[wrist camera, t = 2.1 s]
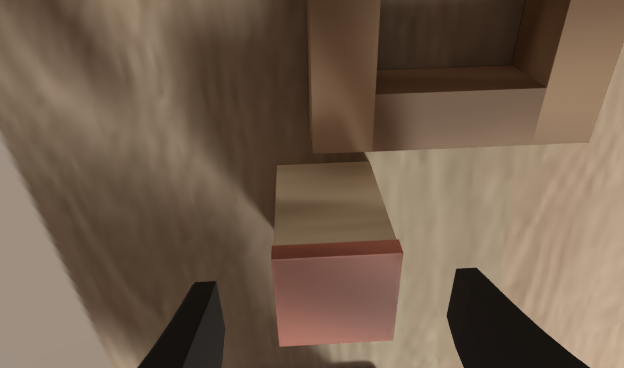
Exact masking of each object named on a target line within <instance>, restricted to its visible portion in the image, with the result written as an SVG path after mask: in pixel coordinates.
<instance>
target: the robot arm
mask: <svg viewBox="0 0 624 368" xmlns="http://www.w3.org/2000/svg"><path fill="white" fill-rule="evenodd" d="M447 319H448V323H449V326H450V330H451V334H452V337H453V340H454V344H455V347H456V350H457V352H458V355H459V357H460V359H461V362H462V364H463V367H464V368H590V367H588V366H587V365H586V364H584V363H583V362H582V361H580V360H579V359H578V358H576V357H575V356H574V355H572V354H571V353H570V352H568V351H567V350H566V349H565V348H564V347H562V346H561V345H560V344H559V343H558V342H556V341H555V340H554V339H553V338H551V337H550V336H549V335H548V334H547V333H545V332H544V331H543V330H542V329H541V328H540V327H539V326H537V325H536V324H535V323H534V322H533V321H532V320H531V319H530V318H529V317H528V316H526V315H525V314H524V313H523V312H522V311H521V310H520V309H519V308H518V307H517V306H516V305H515V304H513V303H512V302H511V301H510V300H509V299H508V298H507V297H506V296H505V295H504V294H503V293H502V292H501V291H500V290H499V289H498V288H497V287H496V286H495V285H494V284H493V283H492V282H491V281H490V280H489V279H488V278H487V277H486V276H485V275H483V274H482V273H481V272H480V271H479V270H478V269H477V268H461V269H456V273H455V278H454V283H453V288H452V292H451V297H450V302H449V307H448V312H447ZM224 334H225V326H224V320H223V315H222V310H221V305H220V299H219V294H218V289H217V283H216V281H210V282H195V283H194V284H193V285H192V287H191V288H190V290H189V292H188V294H187V295H186V297H185V299H184V300H183V302H182V304H181V305H180V307H179V309H178V310H177V312H176V313H175V315H174V317H173V318H172V320H171V321H170V323H169V324H168V326H167V327H166V329H165V330H164V332H163V333H162V335H161V336H160V338H159V339H158V341H157V342H156V343H155V345H154V346H153V348H152V349H151V350H150V352H149V353H148V354H147V356H146V357H145V358H144V360H143V361H142V362H141V364H140V365H139V366H138V368H221V364H222V357H223V346H224Z"/></svg>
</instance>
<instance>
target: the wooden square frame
mask: <svg viewBox="0 0 624 368" xmlns="http://www.w3.org/2000/svg"><path fill="white" fill-rule="evenodd" d="M380 5H381V0H306V15H307V52H308V89H309V124H310V133H311V142H312V151H313V154H327V153H351V152H374V151H397V150H421V149H444V148H467V147H490V146H514V145H537V144H560V143H584V142H589V140H590V137H591V135H592V132H593V129H594V126H595V123H596V120H597V117H598V115H599V112H600V109H601V106H602V103H603V100H604V97H605V94H606V92H607V89H608V86H609V83H610V80H611V77H612V74H613V71H614V69H615V66H616V63H617V60H618V57H619V54H620V51H621V48H622V46H623V43H624V0H526V2H525V6H524V11H523V15H522V20H521V24H520V29H519V33H518V38H517V42H516V47H515V51H514V56H513V61H512V65H501V66H474V67H447V68H420V69H393V70H377V57H378V40H379V22H380Z"/></svg>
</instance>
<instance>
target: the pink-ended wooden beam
mask: <svg viewBox="0 0 624 368" xmlns="http://www.w3.org/2000/svg"><path fill="white" fill-rule="evenodd" d="M402 260H403V251H402V248H401V245H400V242H399V239H398V240H396V237H395V234H394V231H393V228H392V226H391V223H390V220H389V217H388V214H387V211H386V208H385V205H384V202H383V199H382V196H381V194H380V191H379V188H378V185H377V182H376V179H375V176H374V173H373V170H372V167H371V164H370V162H369V161H364V162H341V163H318V164H295V165H277V176H276V202H275V228H274V246H272V255H271V262H272V273H273V283H274V294H275V305H276V315H277V326H278V337H279V347H283V346H301V345H318V344H336V343H354V342H371V341H389V340H393V338H394V329H395V320H396V312H397V303H398V295H399V286H400V277H401V269H402Z"/></svg>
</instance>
